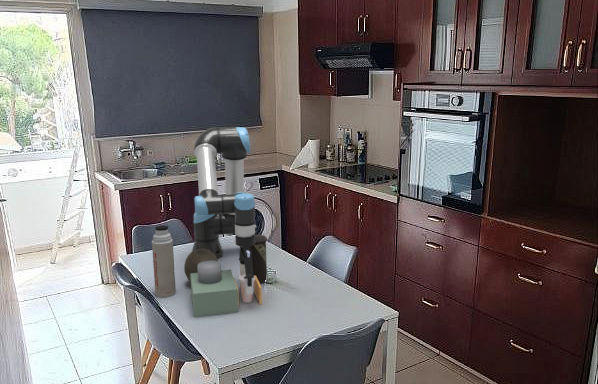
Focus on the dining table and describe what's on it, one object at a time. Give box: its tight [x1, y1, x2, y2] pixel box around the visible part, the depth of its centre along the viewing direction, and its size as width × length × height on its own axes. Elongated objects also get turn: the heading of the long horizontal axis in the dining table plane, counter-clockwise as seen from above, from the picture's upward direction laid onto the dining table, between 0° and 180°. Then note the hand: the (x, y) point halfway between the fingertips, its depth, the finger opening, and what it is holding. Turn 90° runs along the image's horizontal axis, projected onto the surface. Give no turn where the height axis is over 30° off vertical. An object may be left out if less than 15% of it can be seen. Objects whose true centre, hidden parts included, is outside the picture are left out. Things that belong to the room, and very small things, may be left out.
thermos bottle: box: [151, 224, 177, 298], centre depth 195 cm, size 8×8×28 cm
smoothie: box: [238, 273, 255, 303], centre depth 190 cm, size 6×6×14 cm
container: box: [250, 234, 268, 285], centre depth 208 cm, size 9×9×20 cm
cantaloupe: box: [183, 249, 219, 283], centre depth 206 cm, size 14×14×15 cm
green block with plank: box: [190, 260, 263, 318], centre depth 189 cm, size 20×26×15 cm
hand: (246, 286), depth 191 cm, fingers open, 13 cm apart
